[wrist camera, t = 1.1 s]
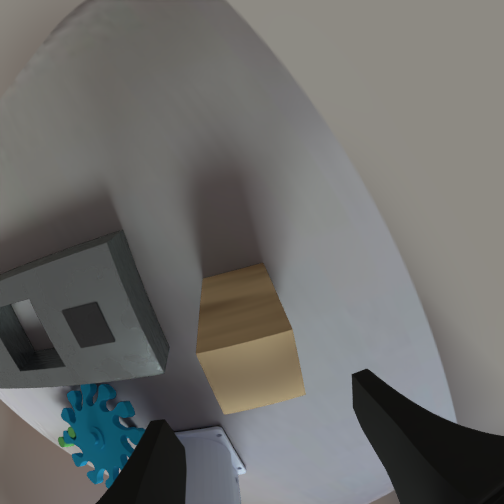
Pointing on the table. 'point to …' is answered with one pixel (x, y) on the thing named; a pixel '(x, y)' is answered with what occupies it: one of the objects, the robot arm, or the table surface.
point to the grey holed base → (81, 319)
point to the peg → (246, 341)
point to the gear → (99, 431)
